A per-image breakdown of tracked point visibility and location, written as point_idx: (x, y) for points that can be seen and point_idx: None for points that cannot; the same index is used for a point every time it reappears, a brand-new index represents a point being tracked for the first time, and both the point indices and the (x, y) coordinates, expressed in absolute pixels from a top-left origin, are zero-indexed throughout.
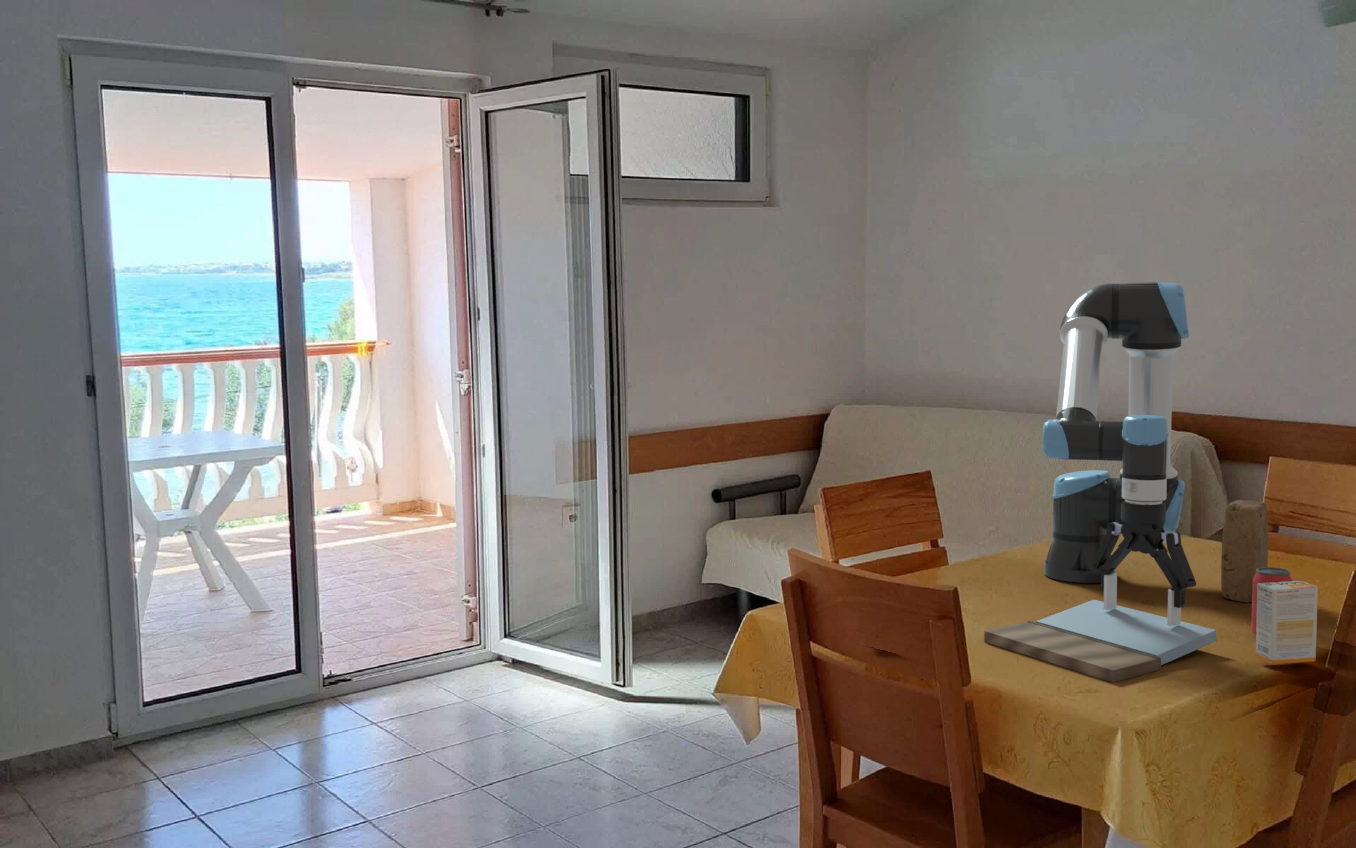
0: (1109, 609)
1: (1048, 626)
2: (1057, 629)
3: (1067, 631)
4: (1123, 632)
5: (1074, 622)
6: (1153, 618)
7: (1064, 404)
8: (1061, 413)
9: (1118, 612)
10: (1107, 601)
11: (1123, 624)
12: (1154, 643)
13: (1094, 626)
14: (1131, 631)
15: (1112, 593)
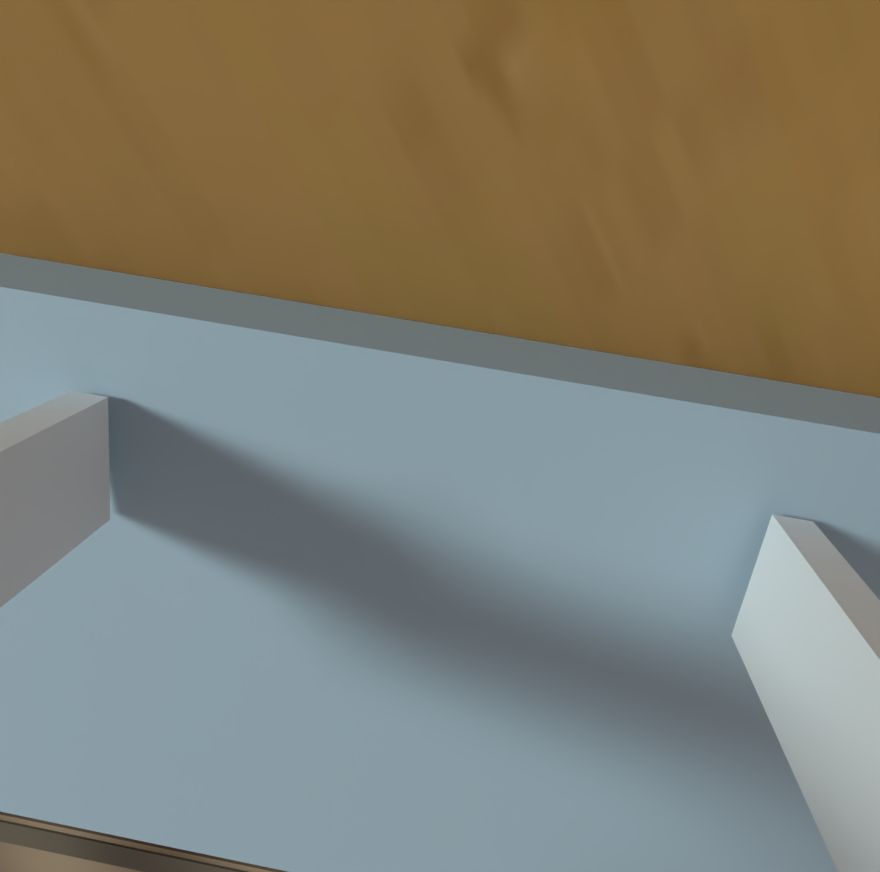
0: (108, 488)
1: (50, 840)
2: (124, 859)
3: (187, 862)
4: (473, 782)
5: (104, 743)
6: (513, 463)
7: None
8: None
9: (181, 455)
10: (63, 553)
11: (385, 665)
12: (747, 863)
13: (251, 756)
14: (508, 750)
15: (10, 518)
